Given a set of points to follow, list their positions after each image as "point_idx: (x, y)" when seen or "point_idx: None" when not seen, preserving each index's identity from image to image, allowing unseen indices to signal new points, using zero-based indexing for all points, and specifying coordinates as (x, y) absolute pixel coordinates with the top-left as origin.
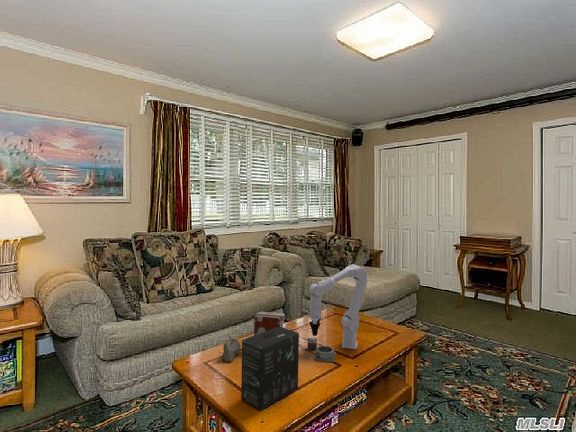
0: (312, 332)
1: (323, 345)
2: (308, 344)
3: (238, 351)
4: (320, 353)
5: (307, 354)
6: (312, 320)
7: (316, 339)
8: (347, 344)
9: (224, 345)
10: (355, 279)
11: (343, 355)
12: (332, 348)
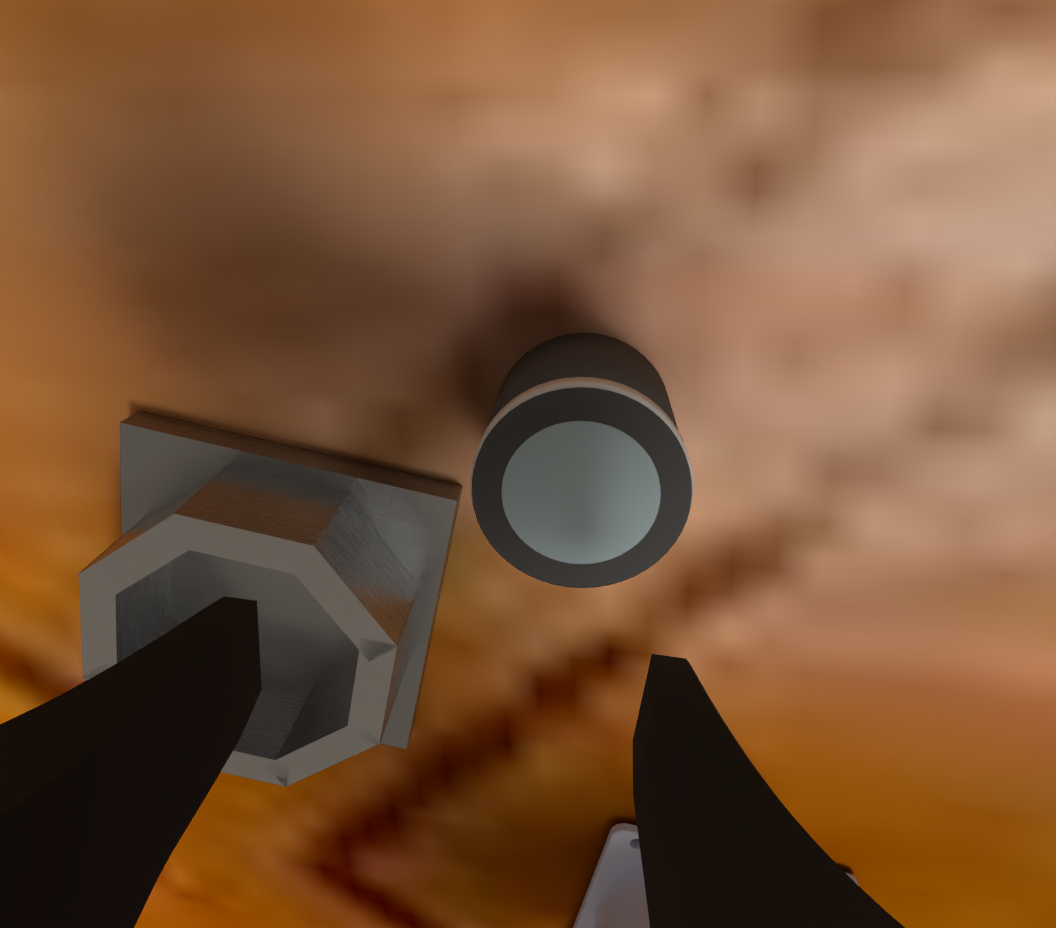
0: (148, 648)
1: (390, 656)
2: (525, 379)
3: None
4: (91, 569)
5: (333, 322)
6: (723, 908)
7: (586, 578)
8: (605, 925)
9: None
10: None
11: (381, 798)
12: (290, 765)
